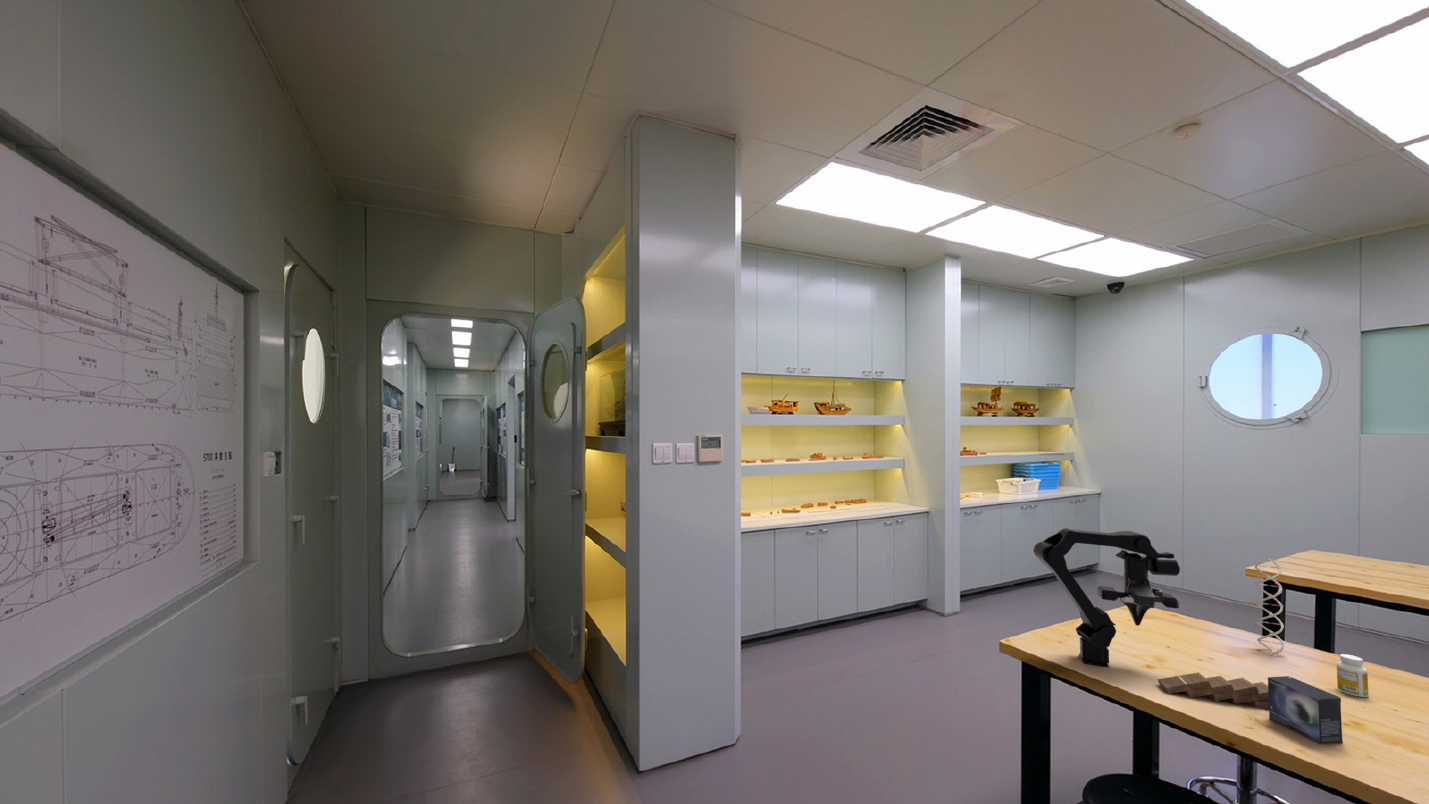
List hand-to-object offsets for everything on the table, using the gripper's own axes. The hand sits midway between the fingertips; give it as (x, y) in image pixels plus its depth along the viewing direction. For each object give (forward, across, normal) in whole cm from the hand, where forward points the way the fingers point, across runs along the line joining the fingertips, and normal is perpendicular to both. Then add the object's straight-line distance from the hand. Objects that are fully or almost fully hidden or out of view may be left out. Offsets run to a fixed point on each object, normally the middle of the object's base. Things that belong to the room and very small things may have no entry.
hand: (1137, 625), depth 158 cm
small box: (+12, +25, -26) cm, 38 cm away
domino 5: (+11, +20, -14) cm, 27 cm away
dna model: (+12, +43, +30) cm, 54 cm away
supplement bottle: (+12, +49, +5) cm, 51 cm away
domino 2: (+11, +6, -15) cm, 20 cm away
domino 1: (+11, +1, -15) cm, 19 cm away
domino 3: (+11, +11, -15) cm, 22 cm away
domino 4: (+11, +15, -15) cm, 24 cm away
